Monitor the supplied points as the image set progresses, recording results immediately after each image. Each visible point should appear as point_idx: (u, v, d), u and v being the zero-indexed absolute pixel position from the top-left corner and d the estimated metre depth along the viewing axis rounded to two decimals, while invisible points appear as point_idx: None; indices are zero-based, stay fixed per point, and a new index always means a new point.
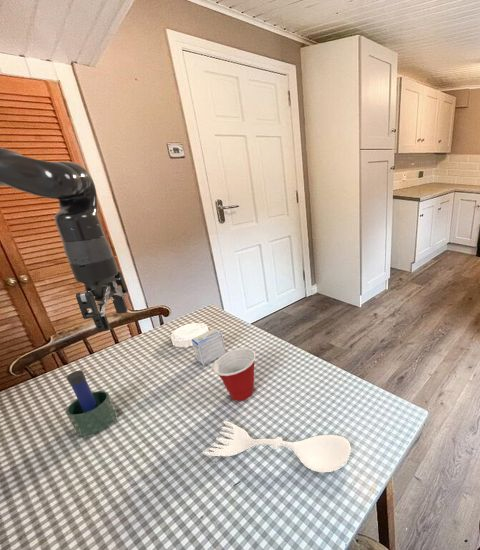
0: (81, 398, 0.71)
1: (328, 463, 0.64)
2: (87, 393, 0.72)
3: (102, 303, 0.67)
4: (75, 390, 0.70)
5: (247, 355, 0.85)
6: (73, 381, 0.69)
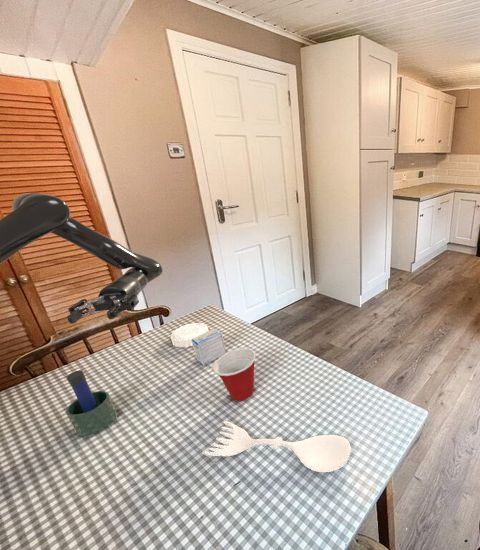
0: (81, 398, 0.71)
1: (328, 463, 0.64)
2: (87, 393, 0.72)
3: None
4: (75, 390, 0.70)
5: (247, 355, 0.85)
6: (73, 381, 0.69)
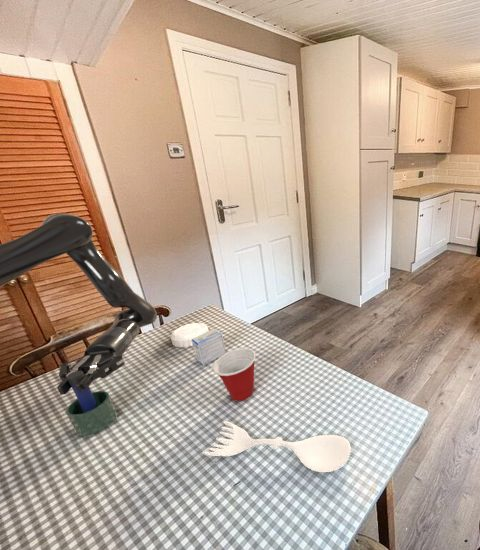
0: (81, 399, 0.71)
1: (328, 463, 0.64)
2: (87, 393, 0.72)
3: None
4: (75, 390, 0.70)
5: (247, 355, 0.85)
6: (73, 381, 0.69)
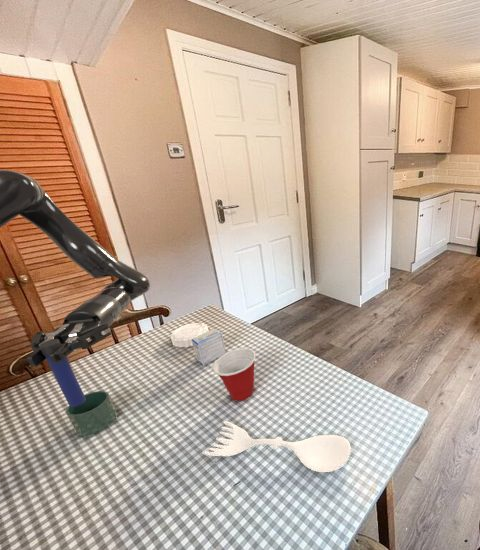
0: (57, 373, 0.59)
1: (328, 463, 0.64)
2: (65, 366, 0.60)
3: None
4: (50, 362, 0.58)
5: (247, 355, 0.85)
6: (47, 351, 0.57)
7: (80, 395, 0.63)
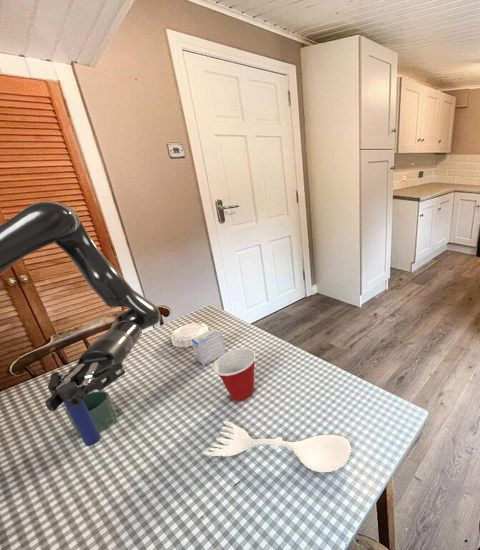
0: (74, 415, 0.61)
1: (328, 463, 0.64)
2: (82, 408, 0.62)
3: None
4: (67, 405, 0.60)
5: (247, 355, 0.85)
6: (64, 395, 0.59)
7: (95, 434, 0.65)
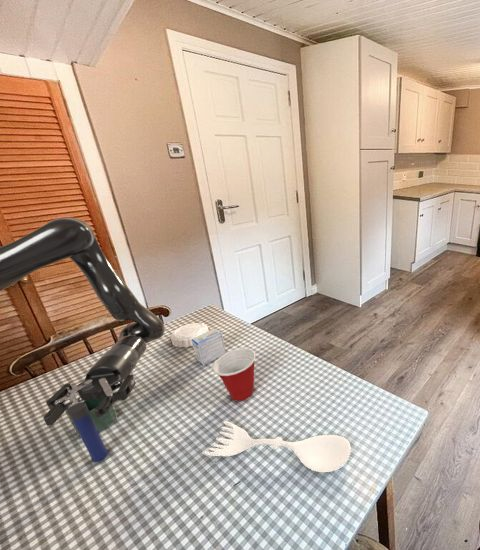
0: (84, 434, 0.63)
1: (328, 463, 0.64)
2: (91, 428, 0.64)
3: None
4: (77, 425, 0.62)
5: (247, 355, 0.85)
6: (75, 415, 0.61)
7: (103, 452, 0.67)
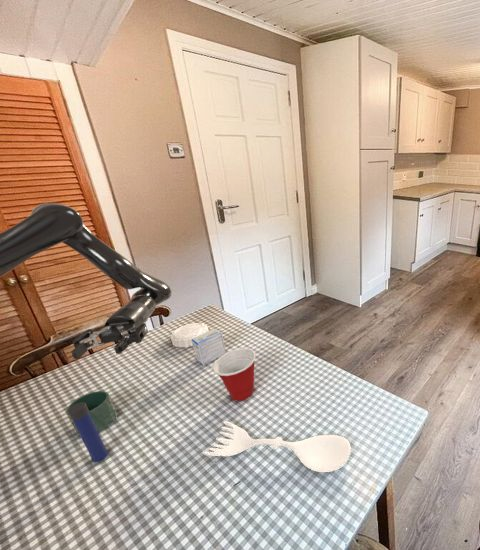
0: (84, 434, 0.63)
1: (328, 463, 0.64)
2: (91, 428, 0.64)
3: None
4: (77, 425, 0.62)
5: (247, 355, 0.85)
6: (75, 415, 0.61)
7: (103, 452, 0.67)
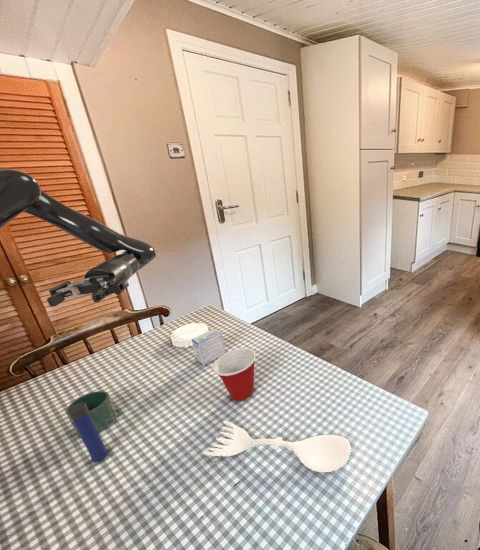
0: (84, 434, 0.63)
1: (328, 463, 0.64)
2: (91, 428, 0.64)
3: None
4: (77, 425, 0.62)
5: (247, 355, 0.85)
6: (75, 415, 0.61)
7: (103, 452, 0.67)
